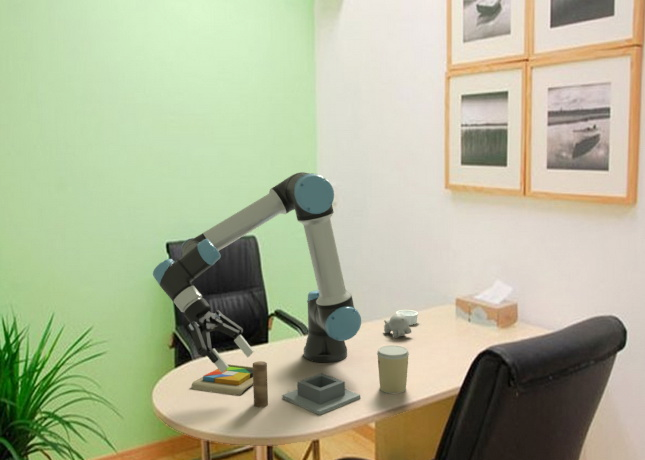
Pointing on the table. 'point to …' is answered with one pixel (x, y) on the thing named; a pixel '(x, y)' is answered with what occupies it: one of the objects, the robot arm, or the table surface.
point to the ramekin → (409, 316)
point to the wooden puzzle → (226, 380)
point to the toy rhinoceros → (397, 325)
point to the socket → (321, 394)
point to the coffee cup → (392, 368)
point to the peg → (260, 384)
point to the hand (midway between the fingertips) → (238, 362)
